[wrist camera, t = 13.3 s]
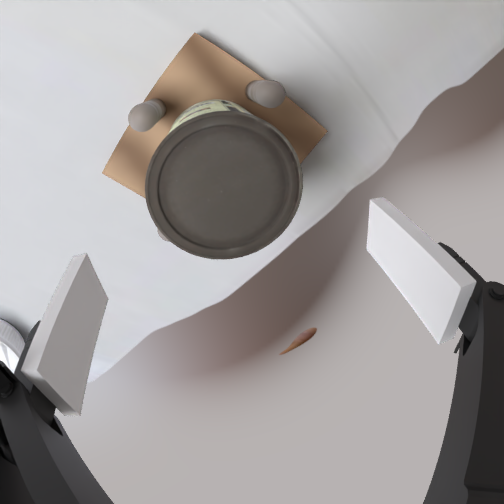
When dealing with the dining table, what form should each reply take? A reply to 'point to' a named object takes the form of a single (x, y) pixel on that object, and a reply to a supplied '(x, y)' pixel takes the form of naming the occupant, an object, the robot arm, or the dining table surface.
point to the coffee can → (223, 182)
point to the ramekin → (10, 345)
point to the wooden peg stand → (197, 90)
